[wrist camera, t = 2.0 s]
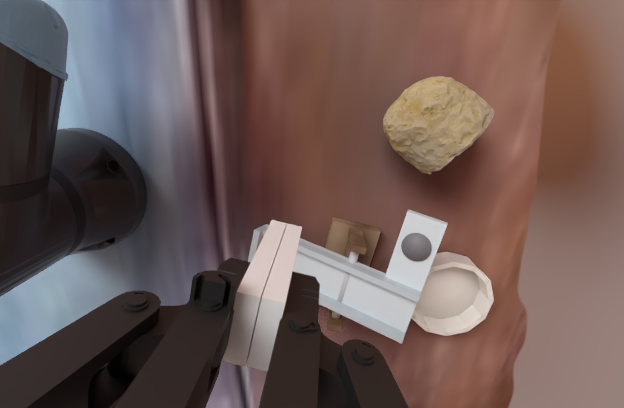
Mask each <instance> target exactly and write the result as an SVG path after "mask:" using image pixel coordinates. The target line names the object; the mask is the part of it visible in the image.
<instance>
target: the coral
mask: <svg viewBox="0 0 624 408" xmlns="http://www.w3.org/2000/svg"><path fill="white" fill-rule="evenodd" d="M494 113H495V112H494V110H493V109H492V107H490V106H489V105H488V103H486V102H485V100H483V99H482V98H481V97H480V96H478V95H477V94H476V92H474V91H472V90H469V89H468V87H467V86H465V85H463V84H461V83H460V82H457V81H455V80H454V79H453V78H450V77H442V76H439V77H429V78H427V79H424V80H421V81H418V82H417V83H414V84H413V85H412V86H411V87H409V88H408V89H406V90H404V92H403V93H402V95H401V96H400V97H399V98H398V99H397V100H396V101H395V102H394V103H393V104H392V105H391V106H390V107H389V109H388V111H387V113H386V114H385V116H384V118H383V126H384V127H383V128H384V132H385V135H386V137H387V138H388V140H389V142H390V144H391V146H392V148H393V149H394V150H395V151H396V152H397V153H398V154H399V155H400V156H402V157H403V159H404V160H405V161H407V162H409V163H410V164H411V165H413V166H415V168H417V169H418V170H419V171H420V172H422V173H427V174H432V173H431V172H433V171H439V170H441V169H442V168H443V167H444V166H446V165H447V164H448V163H449V162H450V161H452V159H453V158H454V157H455V156H458V155H460V154H461V153H462V152H463V151H465V150H466V149H467V148H469V147H470V146H471V145H472V144H473V142H474V141H475V140H476V139H477V138H479V137H480V136H481V135H482V134H483V132H484V131H485V129H486V128H487V126H488V125H489V124H490V123H491V121H492V119H493V116H494V115H493V114H494Z"/></svg>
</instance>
